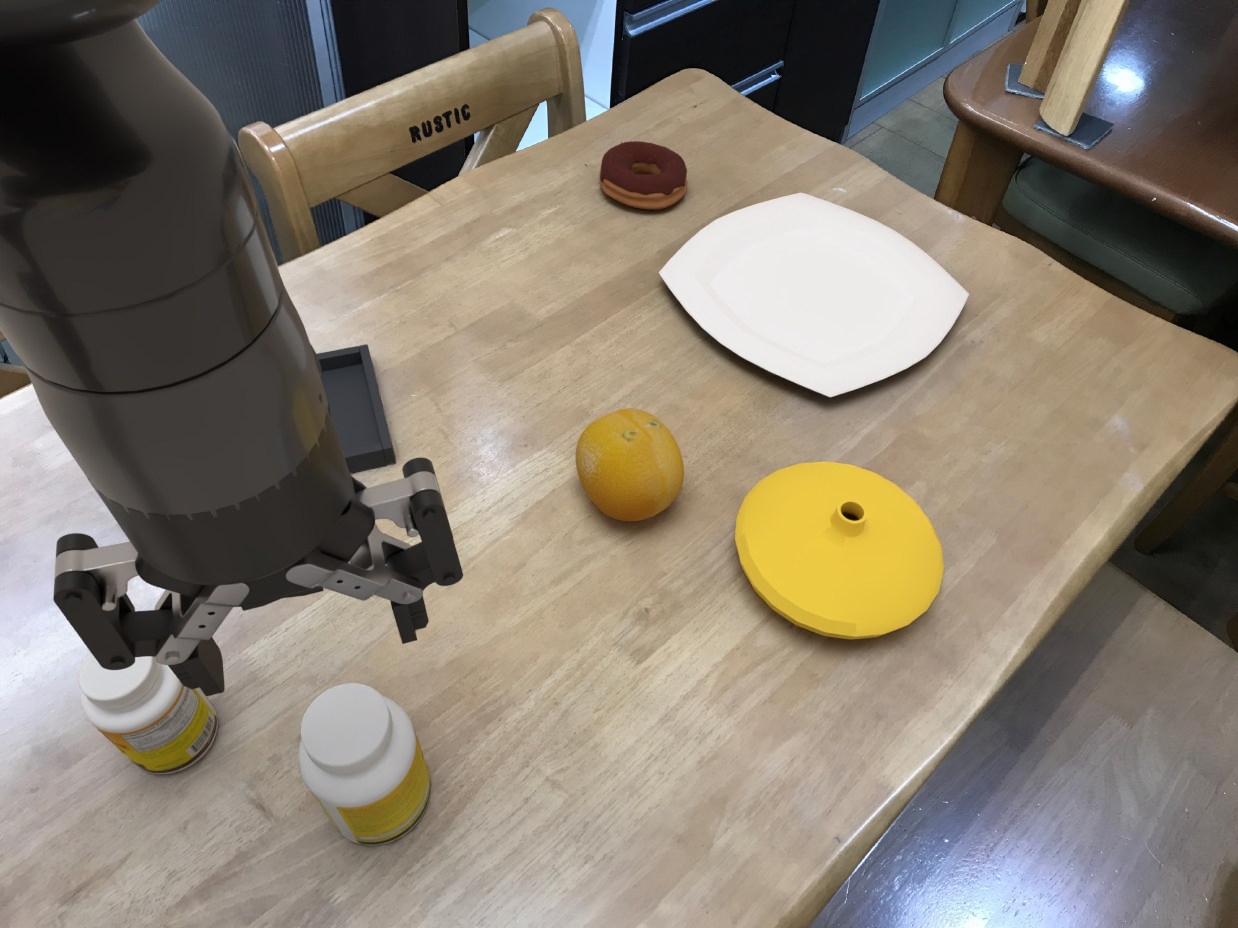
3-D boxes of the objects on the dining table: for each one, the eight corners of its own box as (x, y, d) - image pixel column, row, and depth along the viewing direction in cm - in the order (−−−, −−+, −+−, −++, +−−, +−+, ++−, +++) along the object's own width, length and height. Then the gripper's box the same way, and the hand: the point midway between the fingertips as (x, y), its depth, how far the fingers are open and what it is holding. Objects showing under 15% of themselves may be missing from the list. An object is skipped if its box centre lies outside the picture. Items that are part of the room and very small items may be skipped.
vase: (811, 453, 76) (830, 397, 71) (970, 568, 70) (1004, 516, 64) (687, 558, 69) (698, 505, 63) (851, 698, 62) (879, 652, 57)
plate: (621, 285, 89) (622, 269, 87) (795, 188, 101) (799, 173, 100) (829, 441, 77) (834, 426, 76) (997, 310, 89) (1005, 295, 88)
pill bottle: (453, 794, 57) (432, 722, 48) (370, 872, 54) (330, 810, 45) (390, 726, 59) (359, 645, 50) (307, 795, 56) (258, 723, 47)
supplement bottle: (127, 713, 59) (59, 641, 51) (214, 684, 61) (161, 610, 53) (134, 791, 56) (63, 728, 48) (226, 758, 57) (172, 691, 50)
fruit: (699, 500, 72) (712, 437, 66) (629, 556, 69) (636, 495, 63) (623, 439, 76) (629, 374, 70) (553, 489, 72) (552, 425, 66)
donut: (704, 193, 100) (709, 162, 97) (642, 227, 95) (644, 195, 92) (642, 154, 104) (645, 123, 101) (579, 185, 99) (580, 153, 96)
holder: (197, 508, 70) (188, 492, 68) (190, 396, 77) (182, 379, 75) (396, 463, 73) (392, 447, 72) (371, 360, 81) (367, 343, 79)
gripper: (-66, 565, 24) (149, 775, 37) (450, 451, 28) (485, 679, 40) (-36, 376, 29) (147, 621, 41) (406, 298, 32) (450, 547, 45)
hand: (314, 650), depth 41 cm, fingers open, 8 cm apart
